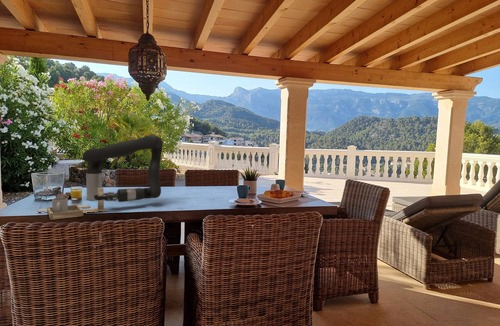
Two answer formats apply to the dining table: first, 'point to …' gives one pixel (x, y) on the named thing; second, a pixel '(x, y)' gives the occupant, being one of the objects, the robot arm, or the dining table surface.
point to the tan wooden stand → (77, 207)
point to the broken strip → (79, 205)
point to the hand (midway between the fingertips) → (95, 197)
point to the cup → (59, 205)
